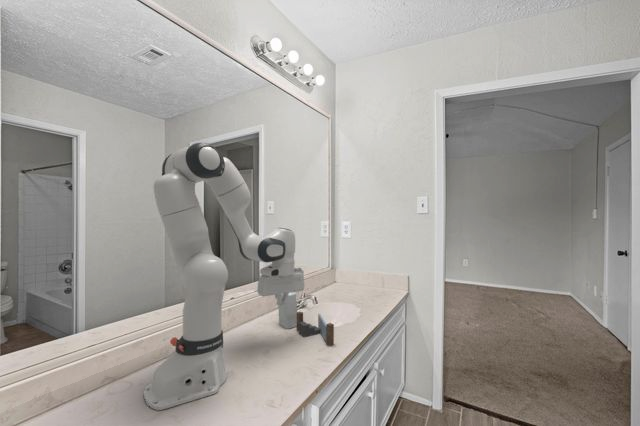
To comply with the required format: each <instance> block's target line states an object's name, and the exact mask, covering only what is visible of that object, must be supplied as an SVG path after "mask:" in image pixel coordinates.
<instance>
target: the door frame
mask: <svg viewBox="0 0 640 426" xmlns="http://www.w3.org/2000/svg"><path fill="white" fill-rule="evenodd" d="M302 321H304V312H303V311H297V327H296V331H297V333H299V322H302ZM334 330H335V327H334V323H332V322H329V323H326V341H325V342H326V343H325V344H326V346H329V347H333V346H335V343H334V341H335V340H334V339H335V335H334V334H335V333H334V332H335V331H334Z"/></svg>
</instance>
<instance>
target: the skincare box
mask: <svg viewBox="0 0 640 426" xmlns="http://www.w3.org/2000/svg"><path fill="white" fill-rule="evenodd" d="M283 296H284V295H283V294H281V297H280V299H282V298H283ZM297 303H298V302H297V293H296V292H291V293H289V295H288V297H287V299H286V304H285V305H280V306H279V305H277V306H278V307H277V309H278V324H279V325H280V326H282V327H283V328H285V329H286V330H287V329H292V328H297V312H298V306H297V305H298V304H297Z"/></svg>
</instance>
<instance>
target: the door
mask: <svg viewBox="0 0 640 426" xmlns="http://www.w3.org/2000/svg"><path fill="white" fill-rule="evenodd" d="M317 318H318V319H317V321H318V322H317V327H318V328H319V329H321V336H322V337H323V339H324V341H325V342H326V324H327V323H326V321H325V320H324V317H322V315H321V313H318V315H317Z"/></svg>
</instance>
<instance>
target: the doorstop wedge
mask: <svg viewBox="0 0 640 426" xmlns="http://www.w3.org/2000/svg"><path fill="white" fill-rule="evenodd" d="M320 334H321V329H319V328H318V326H316V325H312V324H311V323H307V322H306V321H304V320H303V321H302V322H299V332H298V335H300V336H302V337H303V338H308V337H312V336H316V335H320ZM321 335H322V334H321Z"/></svg>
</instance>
